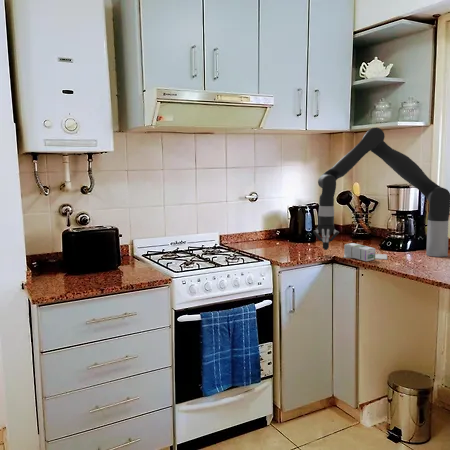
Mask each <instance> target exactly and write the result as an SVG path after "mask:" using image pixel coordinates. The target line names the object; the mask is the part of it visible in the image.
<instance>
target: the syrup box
mask: <svg viewBox="0 0 450 450" xmlns="http://www.w3.org/2000/svg"><path fill="white" fill-rule="evenodd" d="M343 249H344V250H343V252H344V253H343V254H344V255H346V256H349V257H352V258H351V259H356V260H360V261H364V262H370V261H375V260H376V259H375V254H376V248H375V247H371V246H367V245H363V244H360V243H356V242H355V243H354V242H350V243H345V244H344V247H343ZM344 255H343V256H344Z"/></svg>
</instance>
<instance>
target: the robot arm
mask: <svg viewBox="0 0 450 450" xmlns="http://www.w3.org/2000/svg"><path fill="white" fill-rule="evenodd" d="M384 140H385V132H384V131H383V130H382V129H381V128H379V127H372V128H370V129H368V130H367V131H366V132H365V133H364V135H363V136H362V139H361V140H360V141H359V143H357V144H356V145H355V146H354V147H353V148H352V149H351V150H350V151H348V152H347V153H346V154H344V156H343V157H341V158H340V159H339V160H338V161H337V162H336V163H335V164H334V165H333V166H331V168H328V170H326V171H324V173H323V174H322V175H320V177H318V180H317V183H318V186H319V187H320V188H321V194H320V195H319V201H318V202H319V203H318V206H319V207H318V213H317V215H318V224H317V228H316V229H315V230H313V232H312V233H313V234H314V236H315V237H316V238H317V240H318V241H319V242H321V243H322V249H323V250H324V251H326V250H329V248H330V247H329V246H330V243H331V242H333V240H334V239H336V237H337V235H339V233H340V231H339V230H336V227H335V195H336V194H335V193H336V189H337V180H338V179H340V178H342V177H344V176H345V175H347V174H348V173H349V172H350V171H351V170H352V169H353V167H355V166H356V165H357V163H359V161H360V160H361V159H362V158H363V157H365V155H366V154H368V153H369V152H371V153H373V154H374V155H375V156H377V157H378V158H379V159H381V160H382V161H383V162H384V163H385V164H386V165H387V166H389V168H391V169H392V170H393V171H394V172H395V173H397V174H398V176H400V178H401V179H404V181H406V182H407V183H408V184H409V185H411V186H412V187H414V188H416V189H417V190H418V191H419V192H420V193H421V194H422V195H423V196H424V197H425V198H426V199H427V201H428V202H429V205H428V214H427V229H426V230H427V231H426V233H427V234H426V249H425V250H426V253H425V254H426V256H429V257H439V258H441V257H448V255H449V253H448V252H449V236H448V235H449V220H450V219H449V217H450V191H449V190H448V189H447V188H445V187H442V186H440V185H438V184H437V183H435V182H434V181H433V180H432V179H431V178H430V177H428V176H427V174H426V173H425V172H424V170H422V168H421V167H420V166H419V165H418V164H417V163H416V161H413V160H412V158H411V157H409V156H408V155H406V154H404V153H402V152H400V151H398V150H396V149H394V148H392V147H391V146H390V145H389V144H388V143H386V142H385V141H384ZM319 233H320V234H319ZM332 234H333V235H332ZM331 235H332V236H331ZM330 236H331V237H330Z"/></svg>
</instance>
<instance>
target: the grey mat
mask: <svg viewBox="0 0 450 450" xmlns="http://www.w3.org/2000/svg"><path fill="white" fill-rule="evenodd" d="M342 257H343V258H345V259H353V258H352V257H349V256H346V255H343V256H342ZM382 259H384V260H386V261H387V260H388V254H384V253H383V254H382V253H375V260H382Z"/></svg>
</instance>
